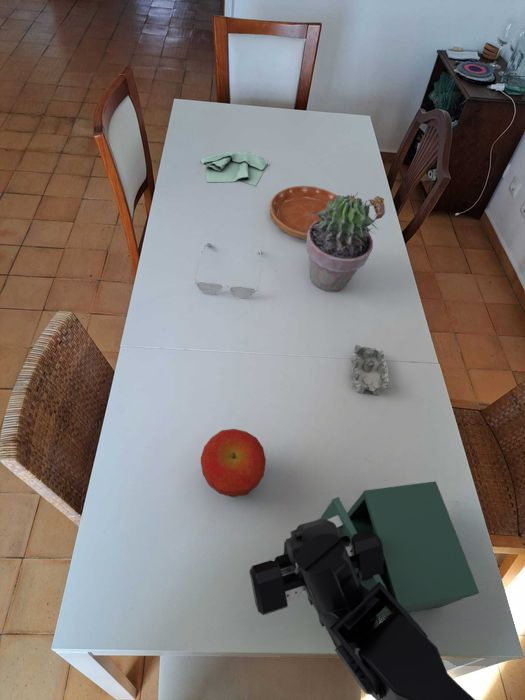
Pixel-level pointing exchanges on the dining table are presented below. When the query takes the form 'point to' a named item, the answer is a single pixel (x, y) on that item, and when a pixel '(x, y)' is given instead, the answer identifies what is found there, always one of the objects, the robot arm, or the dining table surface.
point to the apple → (233, 462)
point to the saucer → (299, 208)
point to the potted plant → (340, 241)
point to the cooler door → (346, 528)
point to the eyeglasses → (215, 288)
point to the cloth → (234, 167)
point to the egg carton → (369, 370)
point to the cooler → (415, 545)
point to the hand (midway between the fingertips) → (299, 540)
